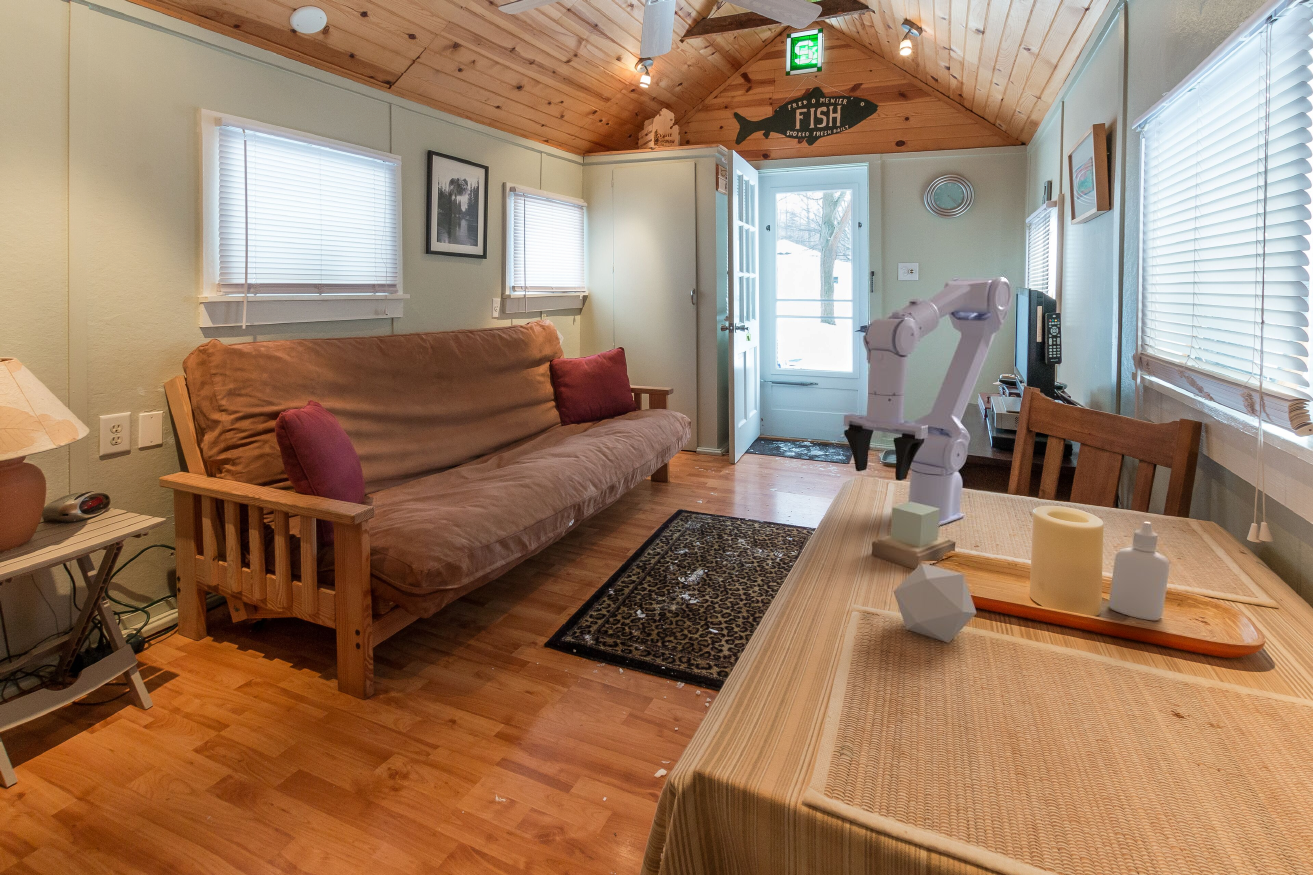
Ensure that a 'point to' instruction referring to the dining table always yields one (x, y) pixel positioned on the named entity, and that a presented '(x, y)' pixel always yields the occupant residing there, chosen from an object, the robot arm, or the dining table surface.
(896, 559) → the plinth
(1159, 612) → the eye dropper bottle
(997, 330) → the robot arm
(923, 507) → the sage block
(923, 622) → the die
